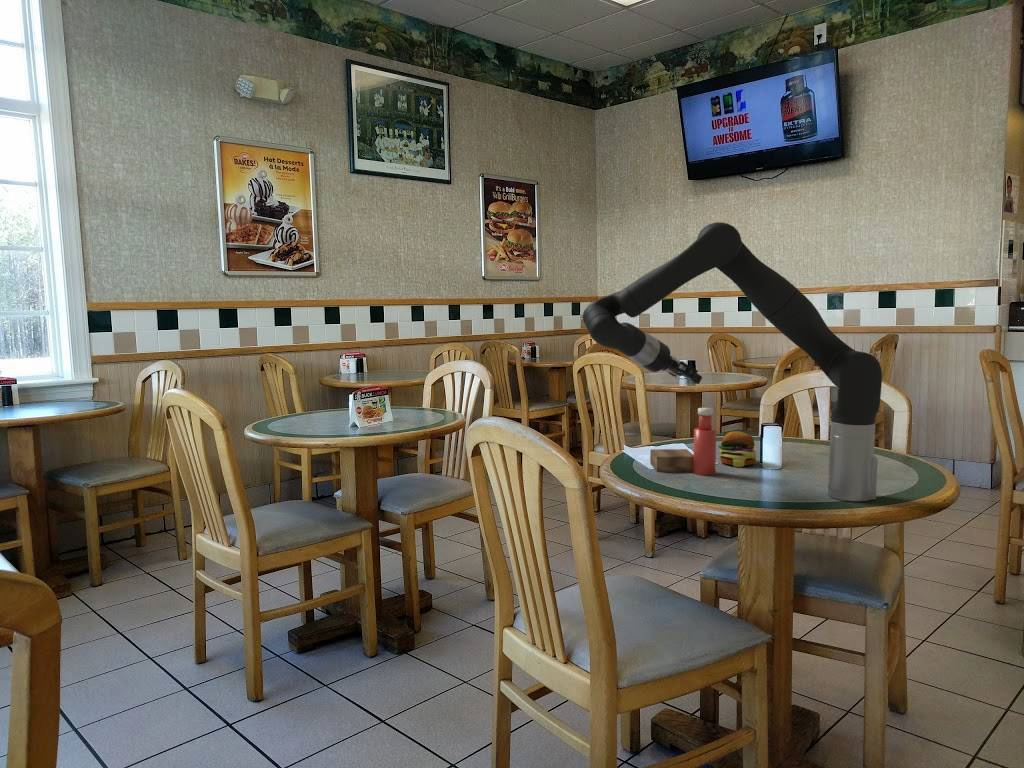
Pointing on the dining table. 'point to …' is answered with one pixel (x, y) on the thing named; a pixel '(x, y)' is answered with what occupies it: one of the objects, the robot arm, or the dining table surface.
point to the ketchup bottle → (704, 444)
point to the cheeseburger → (737, 449)
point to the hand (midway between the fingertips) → (688, 376)
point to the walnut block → (671, 460)
